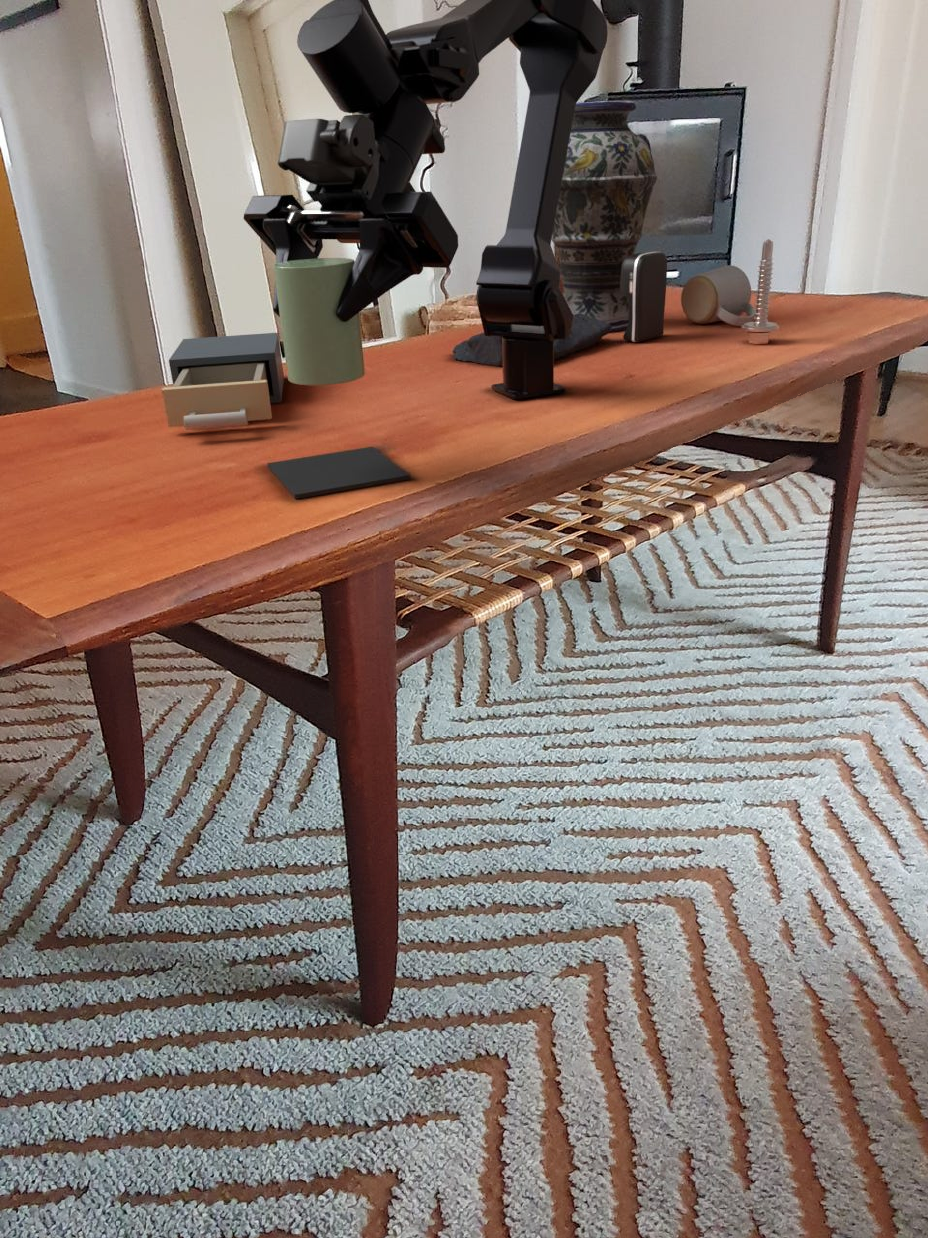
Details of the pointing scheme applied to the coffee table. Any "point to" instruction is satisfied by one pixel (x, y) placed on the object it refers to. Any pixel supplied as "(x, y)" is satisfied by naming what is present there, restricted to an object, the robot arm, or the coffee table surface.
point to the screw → (762, 300)
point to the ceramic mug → (718, 297)
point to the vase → (601, 208)
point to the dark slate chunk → (581, 332)
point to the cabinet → (233, 356)
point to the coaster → (336, 472)
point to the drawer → (218, 396)
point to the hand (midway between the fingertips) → (308, 316)
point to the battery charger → (644, 294)
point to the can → (317, 322)
